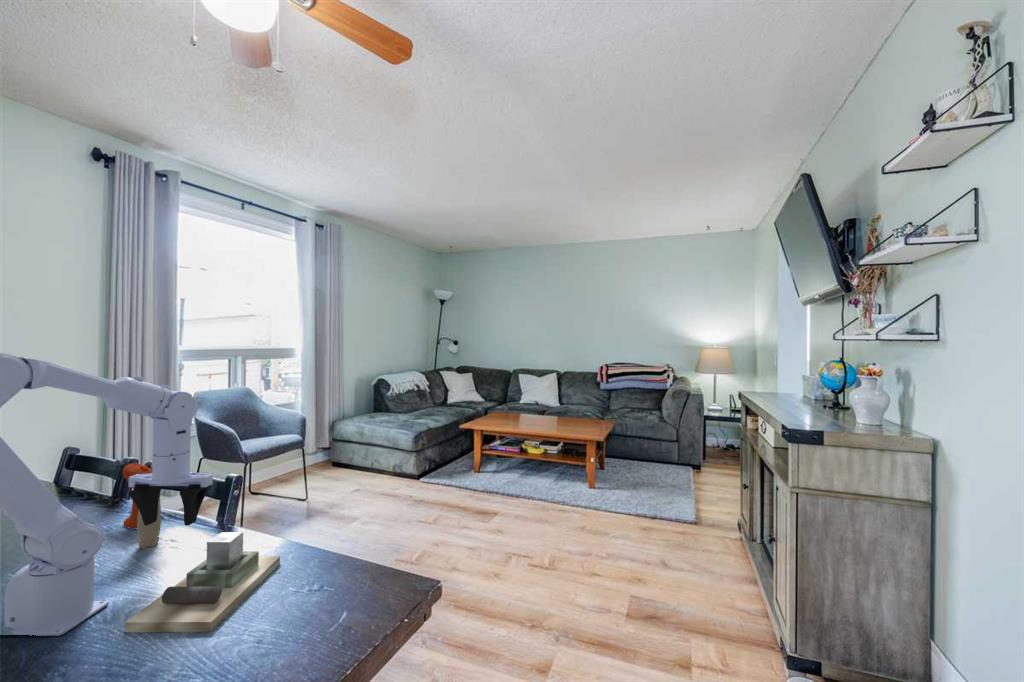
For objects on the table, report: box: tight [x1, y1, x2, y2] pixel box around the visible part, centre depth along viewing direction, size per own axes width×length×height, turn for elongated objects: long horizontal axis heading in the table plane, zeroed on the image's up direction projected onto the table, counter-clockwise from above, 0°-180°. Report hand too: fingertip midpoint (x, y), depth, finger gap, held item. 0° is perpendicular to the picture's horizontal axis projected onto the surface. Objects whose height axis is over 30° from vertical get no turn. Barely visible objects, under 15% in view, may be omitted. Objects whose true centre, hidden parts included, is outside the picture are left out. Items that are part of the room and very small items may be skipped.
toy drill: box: [114, 459, 152, 529], centre depth 104 cm, size 5×19×15 cm, turn 62°
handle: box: [136, 495, 162, 549], centre depth 92 cm, size 5×6×15 cm
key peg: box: [206, 531, 244, 570], centre depth 77 cm, size 4×4×7 cm
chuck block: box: [124, 550, 281, 633], centre depth 74 cm, size 13×20×4 cm, turn 1°
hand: (170, 523), depth 81 cm, fingers open, 7 cm apart
